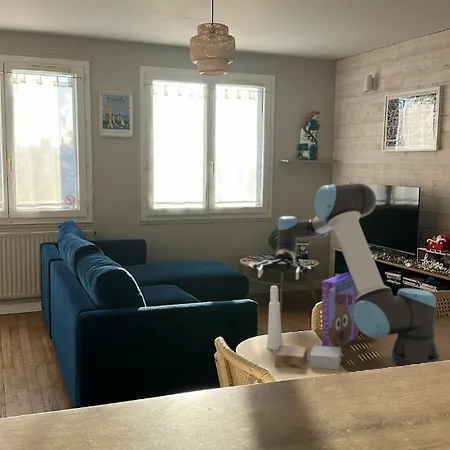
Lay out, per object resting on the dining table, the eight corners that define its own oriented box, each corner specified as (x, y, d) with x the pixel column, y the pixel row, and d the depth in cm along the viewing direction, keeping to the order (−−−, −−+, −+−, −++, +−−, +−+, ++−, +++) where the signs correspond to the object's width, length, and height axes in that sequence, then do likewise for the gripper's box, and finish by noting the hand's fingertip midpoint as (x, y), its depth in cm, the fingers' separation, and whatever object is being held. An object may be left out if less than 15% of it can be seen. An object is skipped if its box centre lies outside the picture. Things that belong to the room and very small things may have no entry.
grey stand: (341, 359, 186) (341, 347, 186) (338, 369, 178) (338, 357, 177) (313, 356, 189) (313, 345, 188) (310, 367, 180) (310, 355, 180)
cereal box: (334, 350, 195) (334, 282, 191) (322, 347, 198) (322, 280, 194) (358, 337, 208) (358, 273, 204) (346, 334, 211) (346, 271, 207)
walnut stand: (306, 358, 188) (306, 347, 187) (303, 368, 179) (302, 356, 179) (280, 356, 190) (280, 345, 190) (275, 366, 182) (274, 354, 181)
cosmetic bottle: (286, 346, 200) (285, 285, 197) (278, 351, 195) (277, 289, 192) (271, 343, 203) (270, 283, 200) (263, 348, 198) (262, 287, 195)
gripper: (315, 271, 221) (312, 286, 201) (253, 267, 226) (243, 282, 206) (316, 252, 220) (313, 266, 199) (253, 249, 225) (243, 262, 204)
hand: (277, 274), depth 202 cm, fingers open, 13 cm apart
